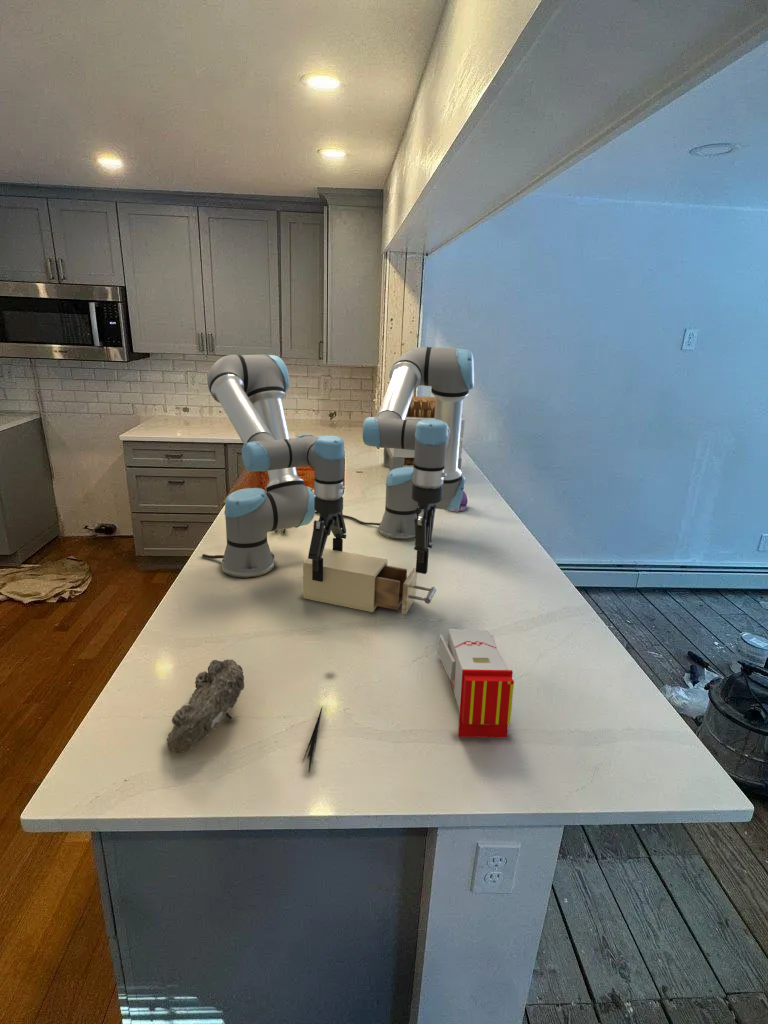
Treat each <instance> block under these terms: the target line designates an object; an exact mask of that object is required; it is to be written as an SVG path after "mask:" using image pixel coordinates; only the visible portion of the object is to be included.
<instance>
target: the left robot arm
mask: <svg viewBox="0 0 768 1024" xmlns="http://www.w3.org/2000/svg"><path fill="white" fill-rule="evenodd" d="M289 374H290V373H289V371H288V368H287V365H286V364H285V361H284V360H283V359H282V358H281V357H279V356H278V355H275V354H267V353H262V354H229V355H228V354H227V355H225V356H222V357H220V358H219V359H217V361H216V362H214V363H213V365H211V368H210V369H209V372H208V376H207V387H208V391H209V393H210V395H211V397H212V399H213V400H215V402H217V403H219V404H220V406H221V407H222V409H223V410H224V412H225V414H226V416H227V418H228V419H229V421H230V423H231V424H232V426H233V428H234V429H235V432H236V433H237V435H238V437H239V439H240V440H241V442H242V443H243V445H242V447H241V459H242V462H243V466H244V468H245V469H246V470H247V471H248V472H252V473H253V472H263V473H264V472H267V475H268V480H269V482H268V484H267V485H266V486H265V490H264V489H263V488H261V487H253V488H252V487H246V488H241V489H237V490H235V491H233V492H231V493H229V495H227V497H226V498H225V500H224V517H225V519H224V520H225V534H226V536H225V537H226V545H225V549H224V553H223V554H216V555H215V554H214V555H210V554H206V553H205V554H204V553H202V554H201V556H202V558H205V559H210V560H214V559H216V560H217V559H221V571H222V572H223V573H224V574H226V575H227V576H230V577H233V578H234V577H235V578H244V579H245V578H256V577H260V576H264V575H266V574H268V573H270V572H272V571H273V569H274V567H275V555H274V553H273V552H272V551H271V548H270V546H269V543H268V533H270V532H275V531H276V530H277V531H283V530H284V529H286V530H288V529H294V528H300V527H303V526H307V525H309V524H310V523H312V521H313V526H312V527H313V529H312V534H311V540H310V544H309V549H308V556H307V559H312V580H315V581H320V582H322V581H323V558H322V554H323V551H324V548H325V547H326V543H327V539H328V537H329V536H330V535H331V533H332V535H333V538H332V550H336V551H342V552H344V551H343V548H344V547H343V546H344V544H343V543H344V539H347V534H346V533H347V528H346V524H345V523H346V522H345V519H344V518H345V517H343V515H344V514H343V511H344V497H343V496H344V490H345V489H346V486H345V485H344V481H345V479H344V478H345V457H346V450H345V441H344V439H343V438H342V437H340V436H337V435H336V436H335V435H331V434H330V435H328V434H327V435H319V436H315V435H312V434H308V433H301V434H299V435H297V436H296V437H293V438H290V433H289V428H288V424H287V420H286V415H285V410H284V406H283V400H284V399H285V397H286V392H287V391H288V390H289V387H290V381H289V380H290V375H289ZM299 467H310V468H312V469H314V471H313V472H314V480H313V483H314V485H313V488H312V487H310V486H306V485H305V481H304V479H303V478H301V477H300V476H299V475H298V471H297V468H299ZM315 512H318V513H319V514H318V515H319V518H318V520H316V519H315V520H313V519H314V518H315V514H316V513H315ZM282 529H283V530H282Z"/></svg>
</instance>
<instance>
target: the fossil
mask: <svg viewBox="0 0 768 1024" xmlns="http://www.w3.org/2000/svg"><path fill="white" fill-rule="evenodd" d="M243 670H244V669H243V667H242V665H240V664H237V662H236V661H235V660H234V659H232V658H231V659H227V658H226V659H224V660H223V661H222V660H217V659H212V660H211V661H210V663H209V665H208V666H207V671H201V672H199V673H198V674H197V675H196V676H195V680H194V684H195V685H194V687H195V689H194V690H193V693H192V694H191V697H190V698H189V700H188V704H184V705H182V706H181V707H180V709H177V710H176V711H175V713H174V715H173V716H172V718H171V723H172V724H173V727H172V730H171V731H170V732H168V734H167V738H166V741H167V742H166V745H167V749H168V750H169V751H173V752H174V753H176V754H178V753H182V752H188V751H189V752H192V751H193V750H195V748H196V747H197V746H199V744H200V743H201V742H203V741H204V740H205V739H206V738H207V737H208V736H209V735H210V734H211V733H212V732H214V730H215V729H217V727H218V726H219V724H220V722H221V721H222V720H223V719H224V718H225V716H226V717H227V719H229V720H233V717H232V715H230V714H229V710H230V709H231V708H234V706H235V704H236V703H237V702H238V699H239V697H240V695H241V693H242V691H243V690H245V689H244V688H245V675H244V671H243Z"/></svg>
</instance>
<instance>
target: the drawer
mask: <svg viewBox="0 0 768 1024" xmlns="http://www.w3.org/2000/svg"><path fill="white" fill-rule="evenodd" d="M417 582H418V573H416V567H413V568H412V570H411V571H410V573H408V569H407V568H404V567H403V568H402V567H397V566H393V565H388V564H387V565H385V566H384V567H383V568H382V570H381V571H380V572H379V574H378V575H377V576H376V577H375V600H374V605H375V606H377V607H380V608H385V609H390V610H395V611H398V609H400V607H401V614H402V615H407V614H408V611H409V610H410V609H411V606H412V604H414V602H415V600H416V601H421V602H424V603H425V604H428V605H429V604H431V602H432V600H433V598H434V595H435V594H436V592H437V587H435V586H431V587H425V586H419V585H418V584H417ZM417 590H421V591H427V595H426V596H425V597H422V596H418V595H417ZM416 595H417V596H416Z"/></svg>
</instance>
